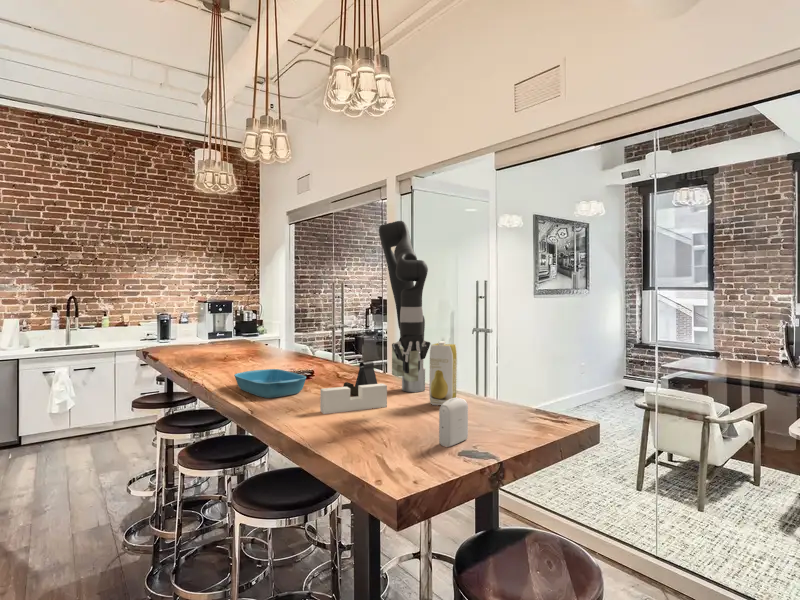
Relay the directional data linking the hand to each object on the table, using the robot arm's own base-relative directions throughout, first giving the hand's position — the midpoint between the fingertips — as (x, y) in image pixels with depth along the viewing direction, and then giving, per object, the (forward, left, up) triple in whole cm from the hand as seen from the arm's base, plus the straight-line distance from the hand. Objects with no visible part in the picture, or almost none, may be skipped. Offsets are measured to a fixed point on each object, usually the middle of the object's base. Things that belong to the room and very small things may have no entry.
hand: (411, 372), depth 152 cm
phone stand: (-5, -52, -16) cm, 55 cm away
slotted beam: (+12, -21, -16) cm, 29 cm away
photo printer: (-1, +25, -16) cm, 30 cm away
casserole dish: (+34, -65, -16) cm, 75 cm away
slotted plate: (0, -5, -3) cm, 6 cm away
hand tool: (+5, -41, -16) cm, 44 cm away
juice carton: (-21, -14, -16) cm, 30 cm away
